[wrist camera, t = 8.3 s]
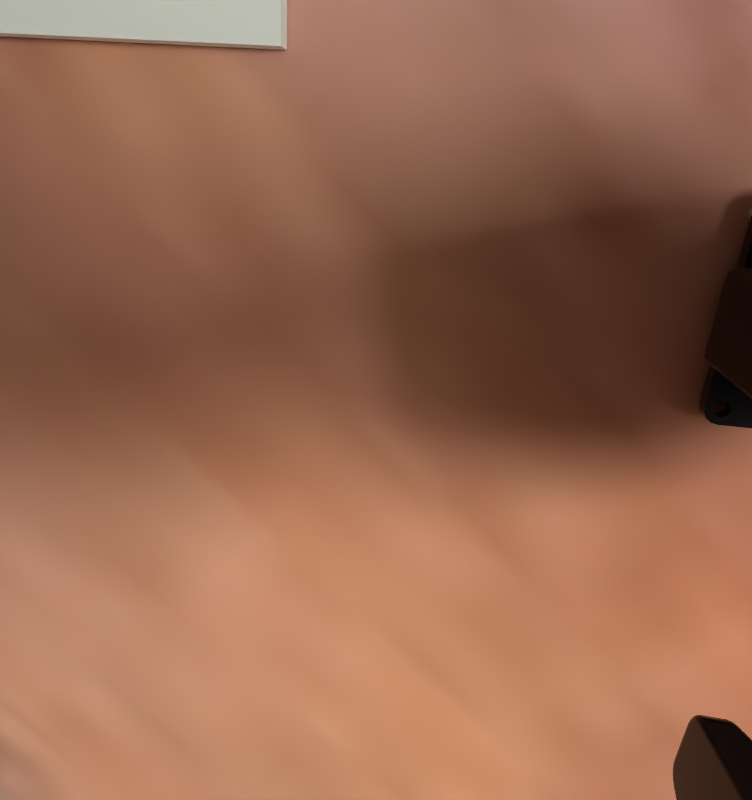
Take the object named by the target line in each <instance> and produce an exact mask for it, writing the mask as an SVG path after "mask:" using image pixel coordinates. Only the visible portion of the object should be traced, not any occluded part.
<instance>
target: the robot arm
mask: <svg viewBox="0 0 752 800" xmlns="http://www.w3.org/2000/svg"><path fill="white" fill-rule="evenodd" d="M705 359H706V360H707V361H708V363H709V364H710V367H709V370H708V374H707V378H706V381H705V385H704V388H703V392H702V396H701V399H700V405H699V409H700V411H701V413H702V415H703V416H704V417H705V418H706V419H707V420H709V421H710V422H711V423H714V424H717V425H726V426H736V427H746V428H752V216H751V219H750V223H749V227H748V230H747V234H746V237H745V241H744V244H743V248H742V252H741V255H740V259H739V262H738V266H735V267H734V268H733V269H732V270H730V271H729V272H728V273H727V275H726V279H725V283H724V286H723V290H722V294H721V297H720V301H719V305H718V308H717V312H716V316H715V319H714V323H713V327H712V330H711V334H710V338H709V341H708V345H707V348H706V352H705ZM720 401H726V406H725V408H724V409H723V410H721V411H719V412H713V408H714V406H715V404H717V403H718V402H720ZM673 782H674V789H675V794H676V799H677V800H752V740H751V739H750V738H749V737H748V736H747V735H746V734H745V733H744V732H743V731H742V730H741V729H740V728H739V727H738V726H737V725H735V724H734V723H733V722H731V721H729V720H726V719H720V718H714V717H708V716H703V715H696V716H694V717H693V718H692V719H691V720H690V722H689V723H688V726H687V729H686V731H685V734H684V737H683V739H682V742H681V744H680V747H679V750H678V752H677V755H676V758H675V761H674V766H673Z"/></svg>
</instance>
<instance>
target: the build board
mask: <svg viewBox="0 0 752 800" xmlns="http://www.w3.org/2000/svg"><path fill="white" fill-rule="evenodd" d="M0 36H3V37H24V38H45V39H66V40H87V41H108V42H129V43H150V44H171V45H193V46H214V47H235V48H256V49H277V50H287V0H0Z"/></svg>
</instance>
